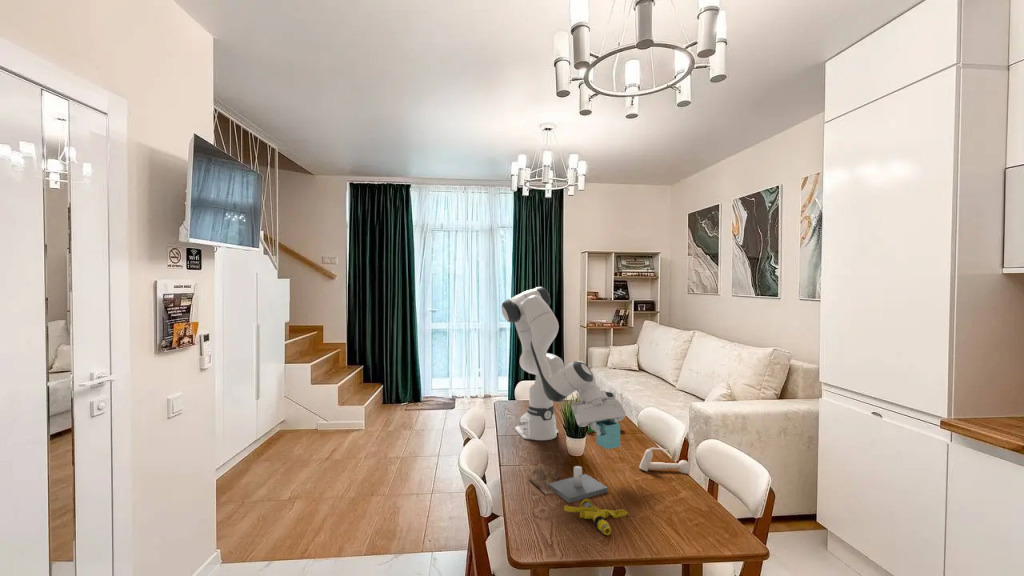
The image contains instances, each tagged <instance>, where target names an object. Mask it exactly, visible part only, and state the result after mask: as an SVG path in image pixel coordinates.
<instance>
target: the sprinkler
mask: <svg viewBox="0 0 1024 576" xmlns="http://www.w3.org/2000/svg"><path fill="white" fill-rule="evenodd" d="M563 511H565V512H568V513H569V512H571V513H579V518H581V519H584V520H585V519H586V520H593V524H594V526H596V528H597V530H599V532H600V533H602V534H603V535H606V536H609V535H611V533H612V528H611V526H610V524H609V522H608V521H607V520H606V518H609V516H611V517H612V518H615V519H618V518H621V517H626V516H628V512H627V511H626V509H622V508H621V509H616V510H613V509H612V510H611V509H600V508H599V507H597V506H596V505H595V504H593V502H592V500H591V499H589V498H585V499H582V501H581V502H580V504H579V507H576V506H569V505H568V504H566V505H565V504H564V507H563Z"/></svg>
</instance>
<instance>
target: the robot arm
mask: <svg viewBox="0 0 1024 576" xmlns="http://www.w3.org/2000/svg"><path fill="white" fill-rule="evenodd" d="M551 302H552V301H551V296H550V293H549V292H548V290H547V289H546V288H545V287H543V286H536V287H533V288H532V289H527V290H525V291H522V292H520V293H519V294H516V295H514V296H512V297H511V298H507V299H506V300H504V301H503V302H502V304H501V313H502V316H503V317H504V319H505V320H506V321H507V322H508V323H511V324H513V323H514V325H515V328H516V331H517V335H518V339H519V341H520V343H521V349H522V350H521V354H520V357H519V365H520V368H521V369H522V370H523V371H524V372H526V373H528V374H531V375H535V381H534V383H533V384H532V385H531V386H530V387H529V391H528V393H529V395H528V396H529V397H528V398H529V399H528V400H529V402H528V403H529V404H528V405H526V408H527V410H526V411H527V412H526V413H524V414H523V415H522V416H521V417H520V418H519V421H518V422H519V425H517V426H515V427H514V430H515V431H516V432H517V433H518V434H519V436H520V437H521V438H523V440H533V441H551V440H553V439H555V438H557V435H558V434H559V430H558V429H557V421H556V419H557V418H556V415H555V414H554V413H555V407H554V406H555V405H554V402H555V403H561V402H563V401H564V400H565V399H566V398H568V396H570V395H572V394H573V393H575V392H577V395H578V399H579V400H580V401H577V402H576V401H575V402H573V403H572V405H571V410H572V412H573V414H574V418H575V421H576V425H577V426H578V427H579V428H581V427H586V426H590V427H591V428H592V429H593V430H594V431H595V432H596V433H597V435H598V436H602V435H603V432H602V429H599V428H598V427H597V426H596V425H597V424H596V422H598V421H604V420H612V421H614V422H616V423H618V421H619V422H620V421H623V420H624V419H625V418H626V414H627V413H626V411H625V408H624V407H623V405H622V403H621V402H620V401H619V400H618V399H617V398H616V396H617V395H616V394H615V393H614V392H611V391H606V390H603V389H601V388H600V386H599V385H598V384H597V382H596V378H595V376H594V374H593V372H592V371H591V368H590V367H589V366H588V365H587V364H586V363H585V362H584V361H582V360H574V361H572V362H569V363H568V364H567V365H565V364H564V361H563V359H562V358H561V357H559V356H558V355H556V354H553V353H550V352H548V350H549V349H550V346H551V344H552V343H553V342H554V340H555V339H556V337H557V335H558V333H559V328H560V325H559V321H558V318H557V317H556V315H555V314H554V312H553V310H552V309H551V307H550V305H551ZM557 433H558V434H557ZM596 433H595V434H596Z"/></svg>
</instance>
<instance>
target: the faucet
mask: <svg viewBox="0 0 1024 576" xmlns="http://www.w3.org/2000/svg"><path fill="white" fill-rule="evenodd" d="M655 450H656V451H657V450H660V451H661V450H662V451H667V449H666V448H665V449H664V448H660V447H659V448H658V447H650V448H647V449H646V450H645V451H644V453H643V457H642V458H641V461H640V463H639V469H640V470H641V471H645V472H648V471H649V470H665V469H666V470H669V469H671V470H673V469H678V472H680V473H682V474H689V473H690V464H689V462H688V461H687V460H685V459H682V460H679V461H678V462H677V463H672V462H668V463H667V462H661V461H660V462H659V461H655V462H653V461H652V459H653V456H654V453H653V451H655Z"/></svg>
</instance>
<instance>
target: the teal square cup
mask: <svg viewBox="0 0 1024 576" xmlns="http://www.w3.org/2000/svg"><path fill="white" fill-rule="evenodd" d="M596 424H597V425H596V426H597V427H598V428H599V429H602V432H603V435H602V436H598V435H597V433H595V434H596V435H595V436H596V437H595V438H596V439H595V440H596V445H598V446H599V447H601V448H604V449H605V450H610V449H615V448H620V447H621V423H620V422H619V423H616V422H614V421H612V420H604V421H598V422H596Z"/></svg>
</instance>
